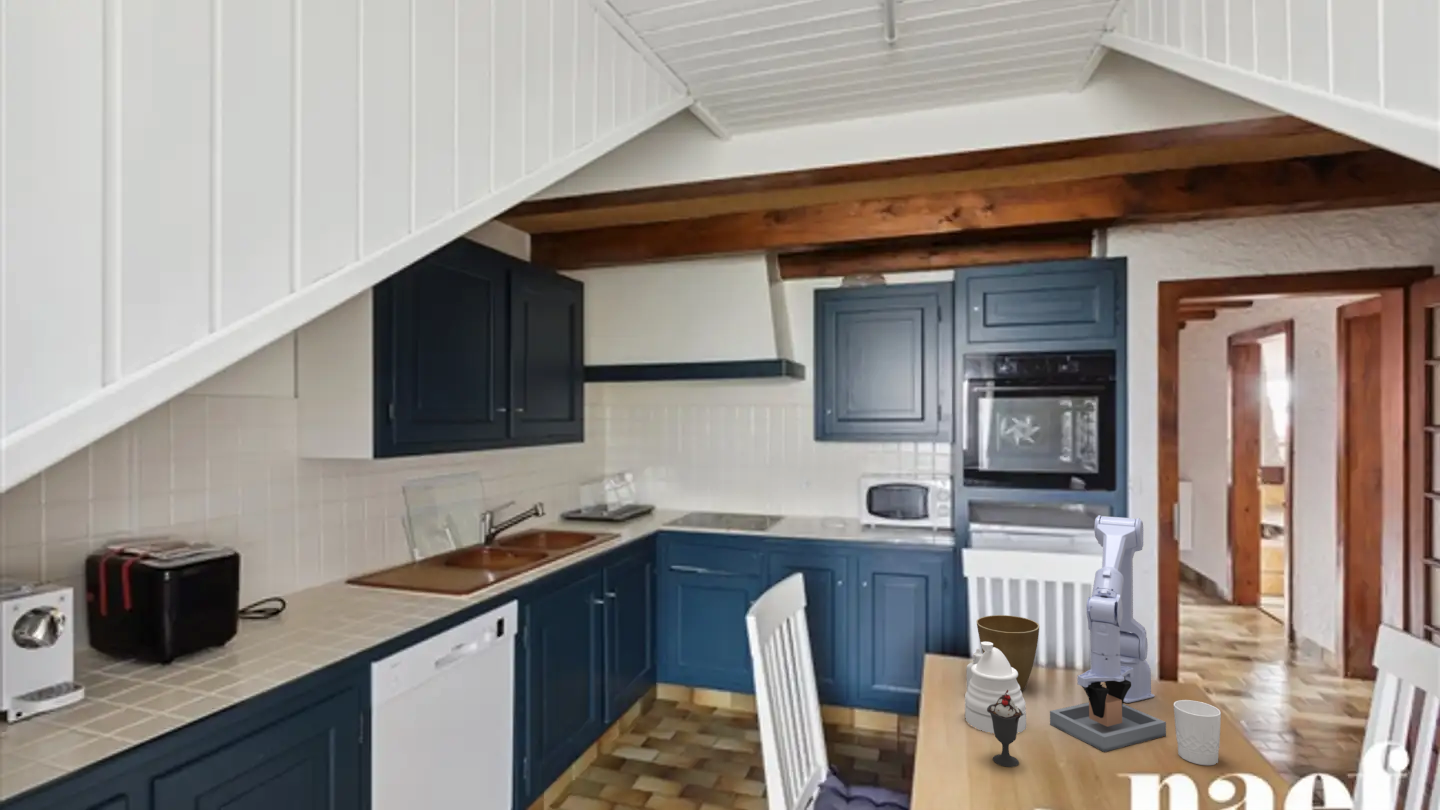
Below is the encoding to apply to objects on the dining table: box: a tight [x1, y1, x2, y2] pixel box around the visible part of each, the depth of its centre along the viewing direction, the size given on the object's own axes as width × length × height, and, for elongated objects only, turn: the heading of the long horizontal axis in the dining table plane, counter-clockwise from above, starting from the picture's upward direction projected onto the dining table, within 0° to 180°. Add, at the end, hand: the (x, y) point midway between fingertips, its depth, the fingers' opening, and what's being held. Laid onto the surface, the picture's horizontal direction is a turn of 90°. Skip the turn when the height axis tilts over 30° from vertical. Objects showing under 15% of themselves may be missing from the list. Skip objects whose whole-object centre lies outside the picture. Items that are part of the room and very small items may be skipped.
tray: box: [1049, 701, 1167, 753], centre depth 156 cm, size 18×14×3 cm
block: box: [1088, 694, 1122, 727], centre depth 157 cm, size 4×4×5 cm
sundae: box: [987, 690, 1023, 768], centre depth 144 cm, size 7×7×15 cm
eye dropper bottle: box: [966, 647, 983, 692], centre depth 175 cm, size 4×6×12 cm
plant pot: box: [976, 614, 1040, 691], centre depth 182 cm, size 15×15×16 cm
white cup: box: [1173, 699, 1222, 766], centre depth 144 cm, size 8×8×10 cm
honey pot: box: [964, 642, 1027, 734], centre depth 162 cm, size 13×13×18 cm
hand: (1106, 714), depth 156 cm, fingers closed on block, 4 cm apart
